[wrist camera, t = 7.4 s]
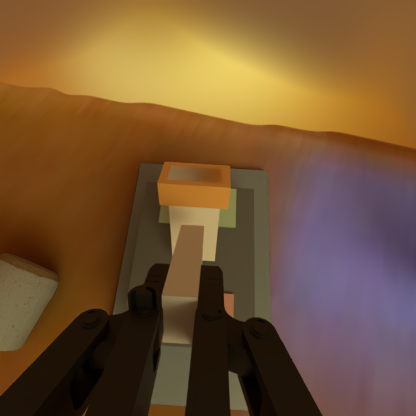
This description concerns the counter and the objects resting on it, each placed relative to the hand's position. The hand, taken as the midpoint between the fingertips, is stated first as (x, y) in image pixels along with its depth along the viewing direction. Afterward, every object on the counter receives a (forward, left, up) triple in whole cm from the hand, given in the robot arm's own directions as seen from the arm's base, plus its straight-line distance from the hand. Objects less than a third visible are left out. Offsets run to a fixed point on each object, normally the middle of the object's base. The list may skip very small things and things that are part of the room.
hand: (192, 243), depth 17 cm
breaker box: (-1, +1, -16) cm, 16 cm away
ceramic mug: (-16, -15, -17) cm, 27 cm away
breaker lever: (-1, +1, -9) cm, 9 cm away
